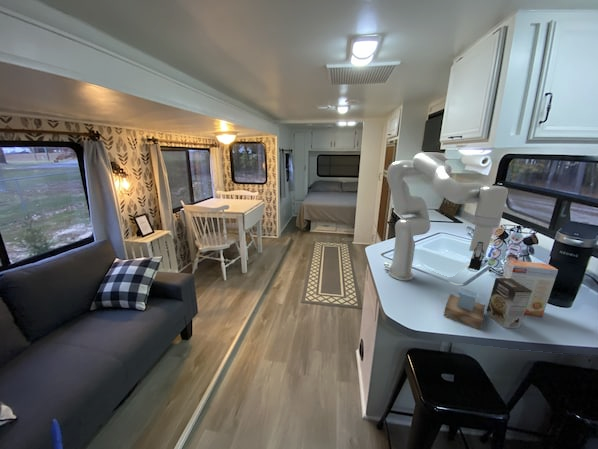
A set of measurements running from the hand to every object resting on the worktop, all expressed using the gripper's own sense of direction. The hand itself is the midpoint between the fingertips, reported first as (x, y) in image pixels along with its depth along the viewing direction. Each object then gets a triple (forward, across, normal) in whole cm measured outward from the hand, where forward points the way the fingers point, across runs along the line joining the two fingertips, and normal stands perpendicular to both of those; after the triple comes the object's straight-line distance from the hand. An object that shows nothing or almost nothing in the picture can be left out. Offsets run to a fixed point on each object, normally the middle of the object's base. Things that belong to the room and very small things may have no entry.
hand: (475, 264), depth 89 cm
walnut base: (+22, 0, 0) cm, 22 cm away
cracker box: (+22, -19, +17) cm, 34 cm away
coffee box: (+22, -6, +12) cm, 26 cm away
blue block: (+18, 0, 0) cm, 18 cm away
